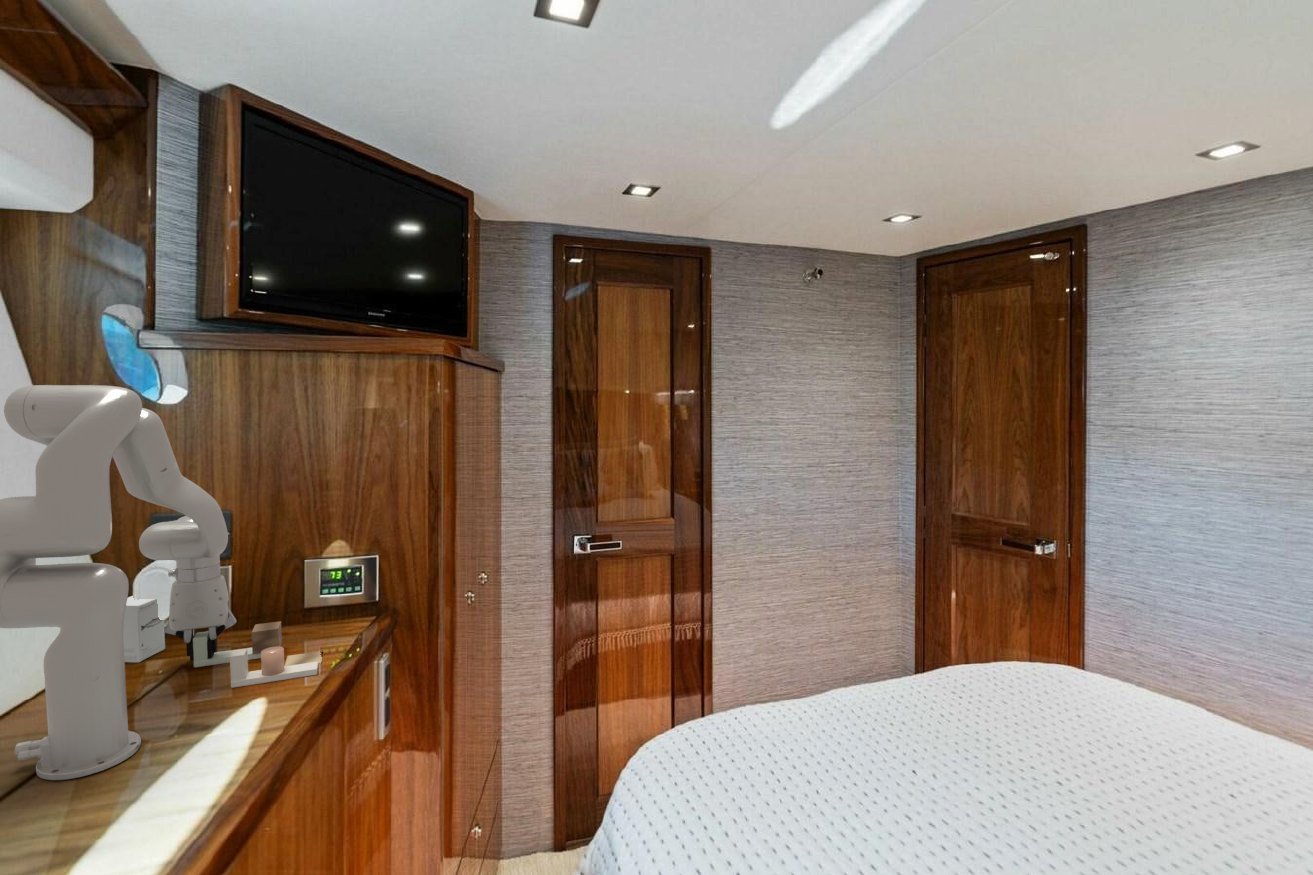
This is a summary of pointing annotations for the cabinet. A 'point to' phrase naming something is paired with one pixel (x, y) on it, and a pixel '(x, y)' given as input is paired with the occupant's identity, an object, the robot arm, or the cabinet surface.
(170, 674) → the cabinet surface
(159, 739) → the cabinet surface
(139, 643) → the supplement box
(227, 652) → the white l-shaped piece
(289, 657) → the pad
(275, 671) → the pink cylinder
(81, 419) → the robot arm
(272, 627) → the block
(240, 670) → the strip
